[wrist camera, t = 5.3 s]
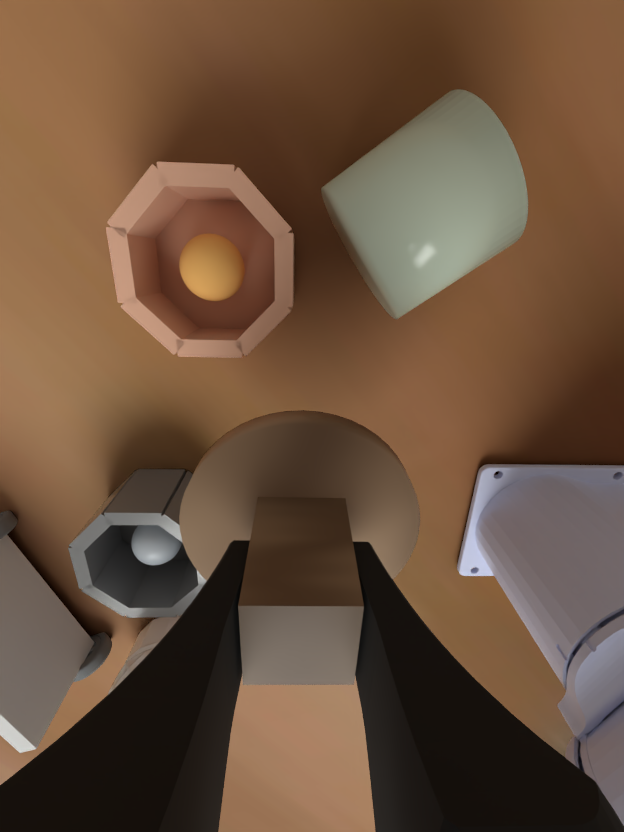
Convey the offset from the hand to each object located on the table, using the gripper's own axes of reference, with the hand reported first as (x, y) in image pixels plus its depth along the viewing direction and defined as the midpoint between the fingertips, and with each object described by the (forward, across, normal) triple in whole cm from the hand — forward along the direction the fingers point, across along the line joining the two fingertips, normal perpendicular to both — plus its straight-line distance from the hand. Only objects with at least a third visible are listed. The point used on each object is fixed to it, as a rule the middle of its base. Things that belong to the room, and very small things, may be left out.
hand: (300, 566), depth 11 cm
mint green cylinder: (+10, -4, -10) cm, 15 cm away
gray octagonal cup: (+10, +8, +6) cm, 14 cm away
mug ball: (+9, +8, +6) cm, 13 cm away
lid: (+2, 0, 0) cm, 2 cm away
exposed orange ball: (+9, +4, -8) cm, 13 cm away
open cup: (+10, +4, -8) cm, 13 cm away
